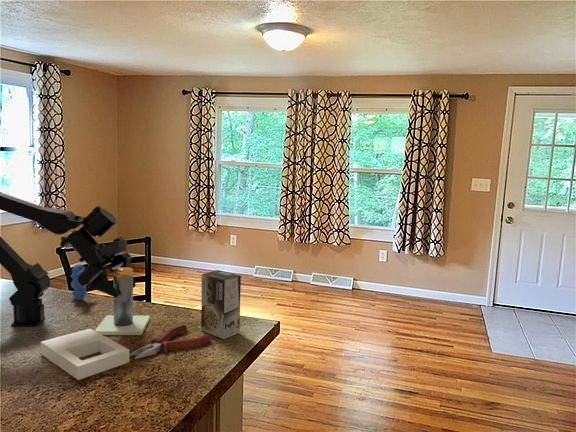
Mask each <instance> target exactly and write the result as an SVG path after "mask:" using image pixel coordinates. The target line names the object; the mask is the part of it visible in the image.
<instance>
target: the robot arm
mask: <svg viewBox="0 0 576 432" xmlns="http://www.w3.org/2000/svg"><path fill="white" fill-rule="evenodd" d="M0 211H2V212H6V213H10V214H12V215H15V216H18V217H21V218H24V219H26V220H30V221H33V222H35V223H36V224H38V225H40V226H41V227H42V228H43V229H45V230H46V231H49V232H50V233H53V234H55V235H64V234H66V233H68V232H70V233H69V234H68V235H67V236H61V237H60V240H61V241H60V244H59V246H60V247H61V248H64V247H69V246H70V247H71V248H72V249H73V250H74V251H75V253H77V254H78V256H79V257H80V258H79V259H78V260H79V261H80V264H81V263H86V265H87V266H86V267H85V270H84V271H83V272H82V273H81V274H80V275H79V276H78V277H77V280H78V283H79V284H80V285H81V286H82V287H84V286H86V285H87V286H86V289H88V288H89V289H93V290H96V291H99V292H101V293H103V294H106V295H109V296H111V297H113V298H114V297H115V298H116V297H118V296H119V294H118V292H117V290H116V289H115V288H114V286H113V284H112V282H111V280H110V279H109V278H108V271H109V273H112V276H113V270H114V269H116V268H122V267H127V268H130V263H131V260H132V255H131V254H130V253H129V252H126V251H128V248H127V246H128V241H126V240H125V238H123V237H122V236H120V237H119V236H118V237H117V238H114V239H113V241H112V242H111V243H110V244H107V245H106V244H105V243H103V242H101V243H99V242H98V241H97V239H95V238H96V237H100V238H101V237H103V236H104V235H105V234H106V233H108V232H109V231H110V230H111V229H112V228H114V226H115V225H116V224H118V221H117V219H116V217H115V216H114V214H112V213H111V212H109V211H108V210H106V209H105V208H102V206H100V205H97V206H95V207H94V208H93V209H92V211H91V212H90V213H88V214H87V216H80V215H76V214H75V213H74V212H72V211H71V210H66V209H62V208H61V209H60V208H52V207H45V206H42V205H38V204H35V203H33V202H29V201H26V200H24V199H20V198H18V197H15V196H13V195H9V194H6V193H3V192H1V191H0ZM76 229H78V230H76ZM72 230H73V231H72ZM0 265H1V267H2V268H3V269H4V270H6V271H7V272H8V274H10V276H11V280H12V283H13V286H14V287H15V289H16V291H15V292H14V293H13V294H11V296H10V297H9V298H8V300H9V301H10V304H11V306H12V307H13V308H12V309H13V311H12V312H13V322H12V323H10V326H11V327H37V326H38V325H39V324H40V323H41V322H42V321H43V320H45V318H46V316H45V304H43V298H41V297H43V296H44V293H45V291H47V290H48V289H49V288H50V286H51V278H50V276H49V275H48V274H49V272H48V271H46V269H43V267H42V265H41V264H40V263H38V262H37V263H35V264H33V265H32V264H30V263H27V261H25V259H23V258H22V257H21V256H20V255H19V253H17V252H16V250H14V248H13V247H11V245H10V244H9V243H8V242H6V241H5V239H4V238H3V237H2V236H0ZM136 285H137V284H136V282H135V281H134V279H133V289H134V288H135V287H136Z"/></svg>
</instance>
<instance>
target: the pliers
mask: <svg viewBox="0 0 576 432" xmlns="http://www.w3.org/2000/svg"><path fill="white" fill-rule="evenodd" d="M187 328H188V327H187V325H186V324H181V325H177V326H175V327H172V328H170V329H168V330H167V331H166V332H165V333H164V334H162V335H161V336H160V337H159V338H152V339H151V341H150V343H149V344H147V345H145V346H142V347H140V348H138V349H136V350H134V351H132V352H129V357H133V356H135V357H134V360H137V359H141V358H145V357H149V356H152V355H156V354H157V353H160V352H161V353H162V352H163V353H164V354H167V353H168V351H169V352H170V351H178V350H186V349H193V348H198V347H201V346H205V345H206V344H209V343H210V342H211V335H210V334H209V333H206V334H202V335H200V336H198V337H195V338H194V337H193V338H187V339H186V338H185V339H175V340H172V338H173V337H175V336H179V335H181V334H183V333H186V332H187V331H188V329H187ZM170 339H171V340H170Z"/></svg>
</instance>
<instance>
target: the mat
mask: <svg viewBox="0 0 576 432" xmlns="http://www.w3.org/2000/svg"><path fill="white" fill-rule="evenodd" d="M150 320H151V315H133V323H132V324H131V325H128V326H115V325H114V314H113V315H111V314H110V315H108V314H107V315H106V316H105V317H104V318H103V319H102V321H101V322H100V324H99V325H97V327H96V328H95V330H94V331H96V332H97V333H99V334H101V335H103V336H142V335H143V334H144V332H145V329H146V328H147V327H148V324H149V322H150Z"/></svg>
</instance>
